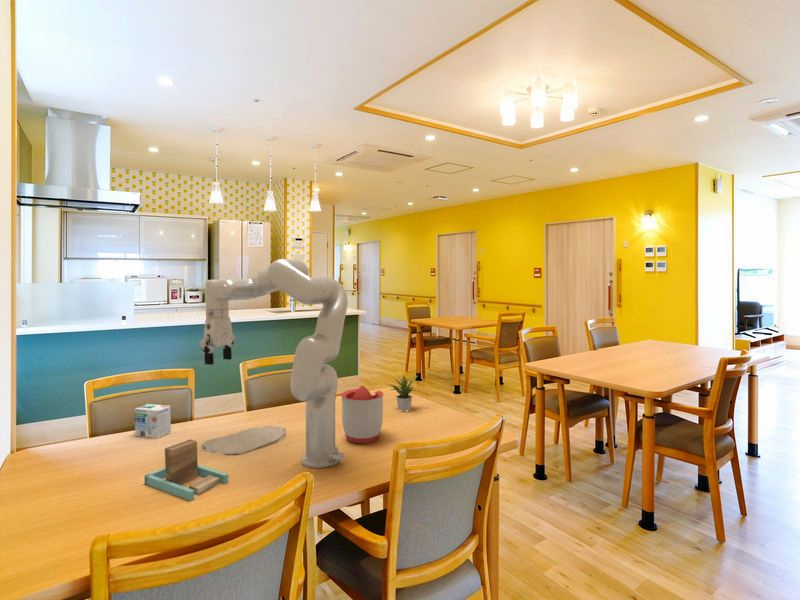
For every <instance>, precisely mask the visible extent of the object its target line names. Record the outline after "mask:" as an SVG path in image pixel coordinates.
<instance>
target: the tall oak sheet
mask: <svg viewBox="0 0 800 600" xmlns="http://www.w3.org/2000/svg"><path fill="white" fill-rule="evenodd" d="M164 461H165V462H164V465H165V466H164V468H165V471H166V477H165V480H167V481H169V482H172V483H175V484H178V485H181V486H183V485H184V484H186V483H188V482H190V481H192V480H194V479H196V478H198V477H199V475H198V465H199V464H198V441H197V440H194V439H187V440H184V441H182V442H179V443H176V444H173V445H171V446H167V447H165V448H164Z"/></svg>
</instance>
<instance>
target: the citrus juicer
mask: <svg viewBox="0 0 800 600" xmlns="http://www.w3.org/2000/svg"><path fill="white" fill-rule="evenodd" d="M340 396H341V420H342V428H343V431H344V435H345V437H346V440H347V441H348V442H351V443H355V444H364V445H365V444H366V445H367V444H370V443H373V442H375V441H377V440H378V439H379V436H380V434H381V430H382V426H383V420H384V419H383V418H384V417H383V415H384V413H383V412H384V409H383V408H384V406H383V405H384V403H383V401H384V392H383V391H381V390H377V391H375V394H371V392H370V391H369V390H368V388H366V386H364V385H360V387H358V388H355V389H349V390H346V391H343V392H342V393H341V394H340Z"/></svg>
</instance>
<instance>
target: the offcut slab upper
mask: <svg viewBox="0 0 800 600" xmlns="http://www.w3.org/2000/svg"><path fill="white" fill-rule="evenodd" d="M218 484H220V482H219V478H218V477H214V476H211V475H209V476H207V477H202V478H201V479H200V480H197V481H196V482H193V483H192V484H189V485H188V488H189V489H192V490H194V494H197V495H198V496H200V495H202V494H204V493H206V492H208V491H210V490H211V488H212V489H214V488H215V487H214V486H216V485H218ZM218 486H219V485H218ZM213 487H214V488H213ZM216 487H217V486H216ZM209 489H210V490H209ZM207 490H208V491H207ZM205 491H206V492H205ZM203 492H204V493H203ZM201 493H202V494H201Z"/></svg>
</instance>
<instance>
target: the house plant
mask: <svg viewBox="0 0 800 600" xmlns="http://www.w3.org/2000/svg"><path fill="white" fill-rule="evenodd" d="M417 377H419V375H416V376H413V377H412V376H410V377H409V378H407V377H406V375H404V374H402V379H401V378H400V377H398V376H397V378H395V377H391V378H392V379H393V381H394V380H395V382H396V383H397V385H398V386H396V385H394V384H392V383H387V385H388V386H391V387H392V388H391V389H390V390H389V391H390V392H391V391H396V392H397V393H398V394H399V395H396V402H397V409H399V410H402V411H406V410H410V411H411V406H412V400H413V396H412V395H410V394H411V393H412V392H413V391H415V392H416V390H415V389H414V387H413V386H412V384H413V383H415V382H416V380H415V379H417ZM399 410H398V411H399Z"/></svg>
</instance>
